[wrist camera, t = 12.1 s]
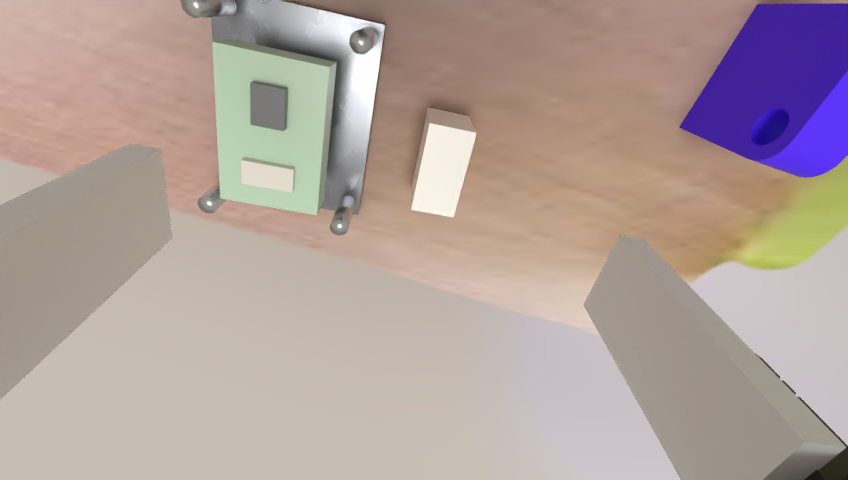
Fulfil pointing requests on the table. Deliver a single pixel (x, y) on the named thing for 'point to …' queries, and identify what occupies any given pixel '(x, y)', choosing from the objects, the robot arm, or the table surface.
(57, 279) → the robot arm
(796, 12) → the bracket
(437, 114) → the block
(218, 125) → the board
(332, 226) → the chassis
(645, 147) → the table surface
